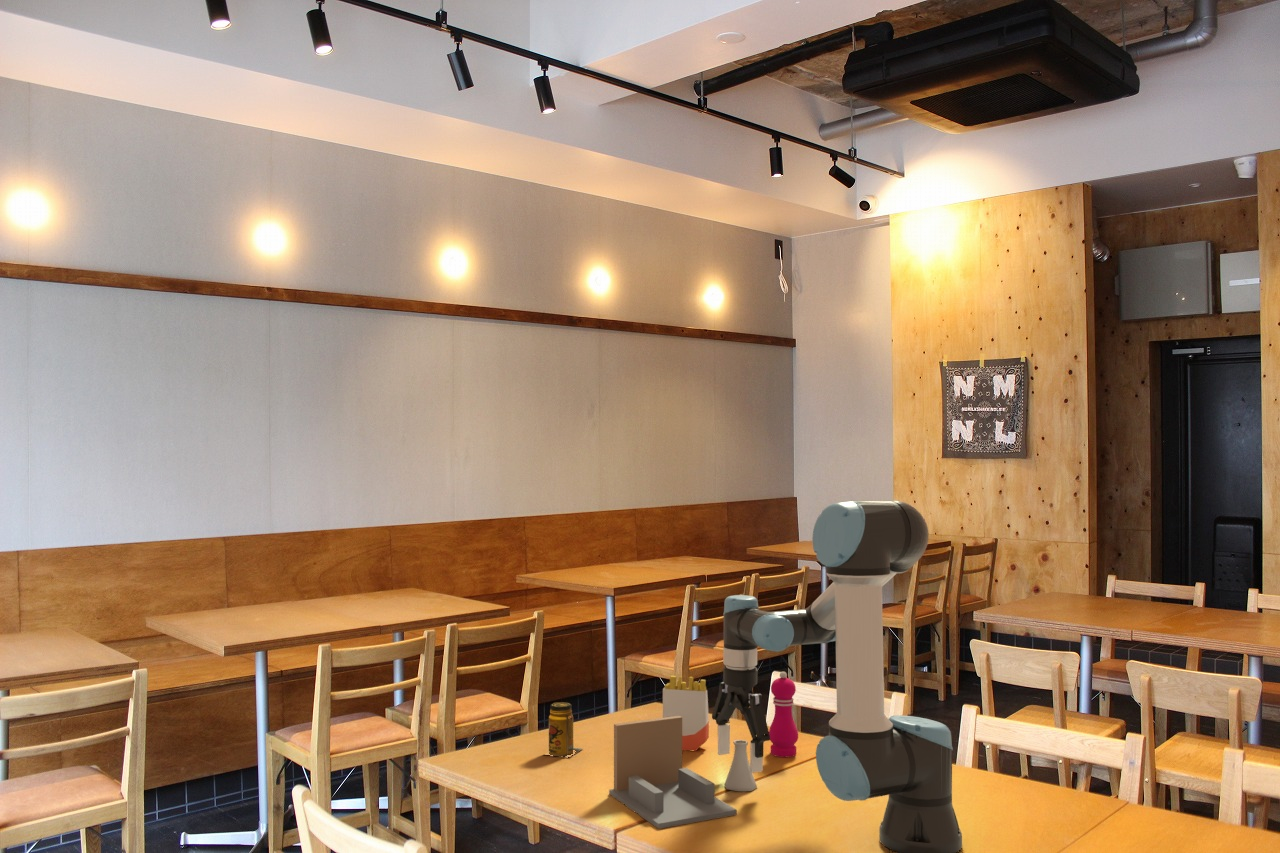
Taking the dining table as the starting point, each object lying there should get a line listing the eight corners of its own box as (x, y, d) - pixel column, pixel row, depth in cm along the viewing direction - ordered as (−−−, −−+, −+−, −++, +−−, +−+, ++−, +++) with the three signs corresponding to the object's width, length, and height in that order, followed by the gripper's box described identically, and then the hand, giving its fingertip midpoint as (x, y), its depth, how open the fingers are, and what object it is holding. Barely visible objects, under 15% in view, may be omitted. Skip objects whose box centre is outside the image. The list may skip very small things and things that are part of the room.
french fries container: (666, 743, 263) (666, 672, 264) (709, 746, 261) (709, 674, 261) (662, 748, 259) (662, 676, 259) (705, 752, 256) (705, 678, 257)
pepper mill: (778, 747, 260) (778, 667, 260) (803, 753, 255) (803, 671, 256) (762, 754, 254) (762, 672, 255) (788, 759, 250) (788, 676, 250)
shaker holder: (736, 814, 212) (736, 740, 212) (658, 828, 204) (658, 751, 204) (682, 782, 232) (682, 715, 233) (609, 794, 224) (609, 724, 225)
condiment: (542, 755, 253) (542, 706, 253) (556, 746, 261) (556, 698, 261) (569, 758, 250) (569, 708, 251) (583, 749, 258) (583, 700, 259)
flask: (755, 793, 225) (755, 747, 225) (722, 791, 227) (722, 745, 227) (758, 783, 232) (758, 738, 232) (726, 781, 234) (726, 736, 234)
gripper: (786, 676, 221) (786, 776, 220) (725, 653, 243) (724, 745, 243) (756, 679, 217) (756, 781, 217) (697, 656, 239) (696, 749, 239)
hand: (739, 762), depth 230 cm, fingers open, 13 cm apart
